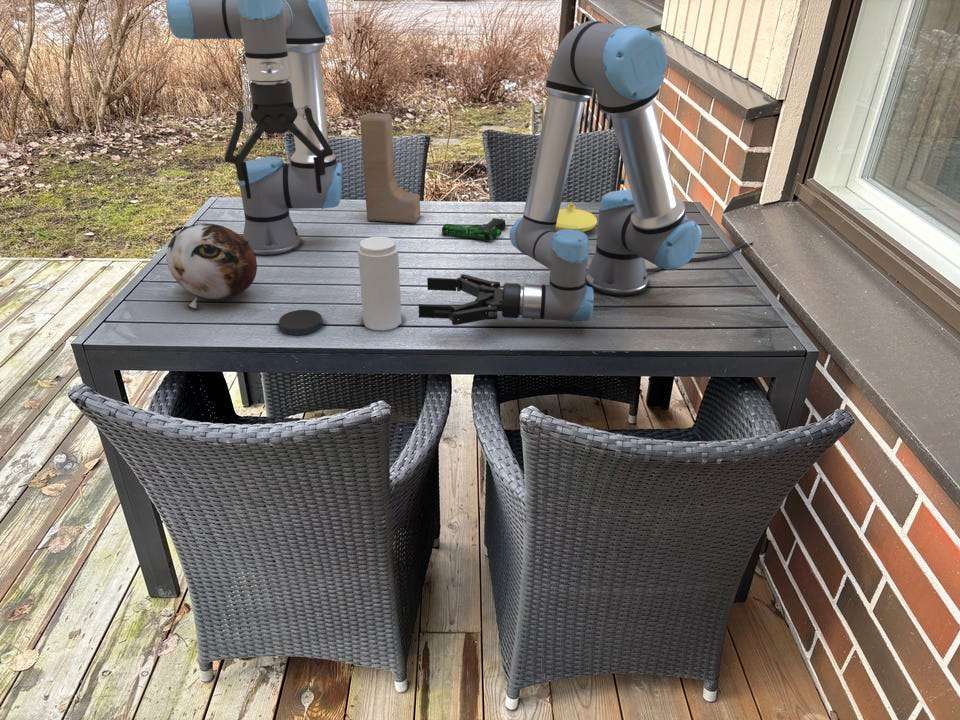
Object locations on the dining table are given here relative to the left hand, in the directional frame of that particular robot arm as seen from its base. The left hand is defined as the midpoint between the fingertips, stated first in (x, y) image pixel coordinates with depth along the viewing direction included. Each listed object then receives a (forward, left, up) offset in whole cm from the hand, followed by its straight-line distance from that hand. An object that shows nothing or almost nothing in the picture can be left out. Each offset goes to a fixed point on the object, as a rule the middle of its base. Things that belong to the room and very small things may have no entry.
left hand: (284, 194), depth 142 cm
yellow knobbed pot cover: (+21, +88, -29) cm, 95 cm away
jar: (+14, +11, -29) cm, 34 cm away
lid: (0, 0, -28) cm, 28 cm away
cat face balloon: (-26, -1, -29) cm, 40 cm away
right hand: (+22, +16, -23) cm, 36 cm away
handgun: (0, +70, -29) cm, 76 cm away
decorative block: (-27, +65, -29) cm, 76 cm away
